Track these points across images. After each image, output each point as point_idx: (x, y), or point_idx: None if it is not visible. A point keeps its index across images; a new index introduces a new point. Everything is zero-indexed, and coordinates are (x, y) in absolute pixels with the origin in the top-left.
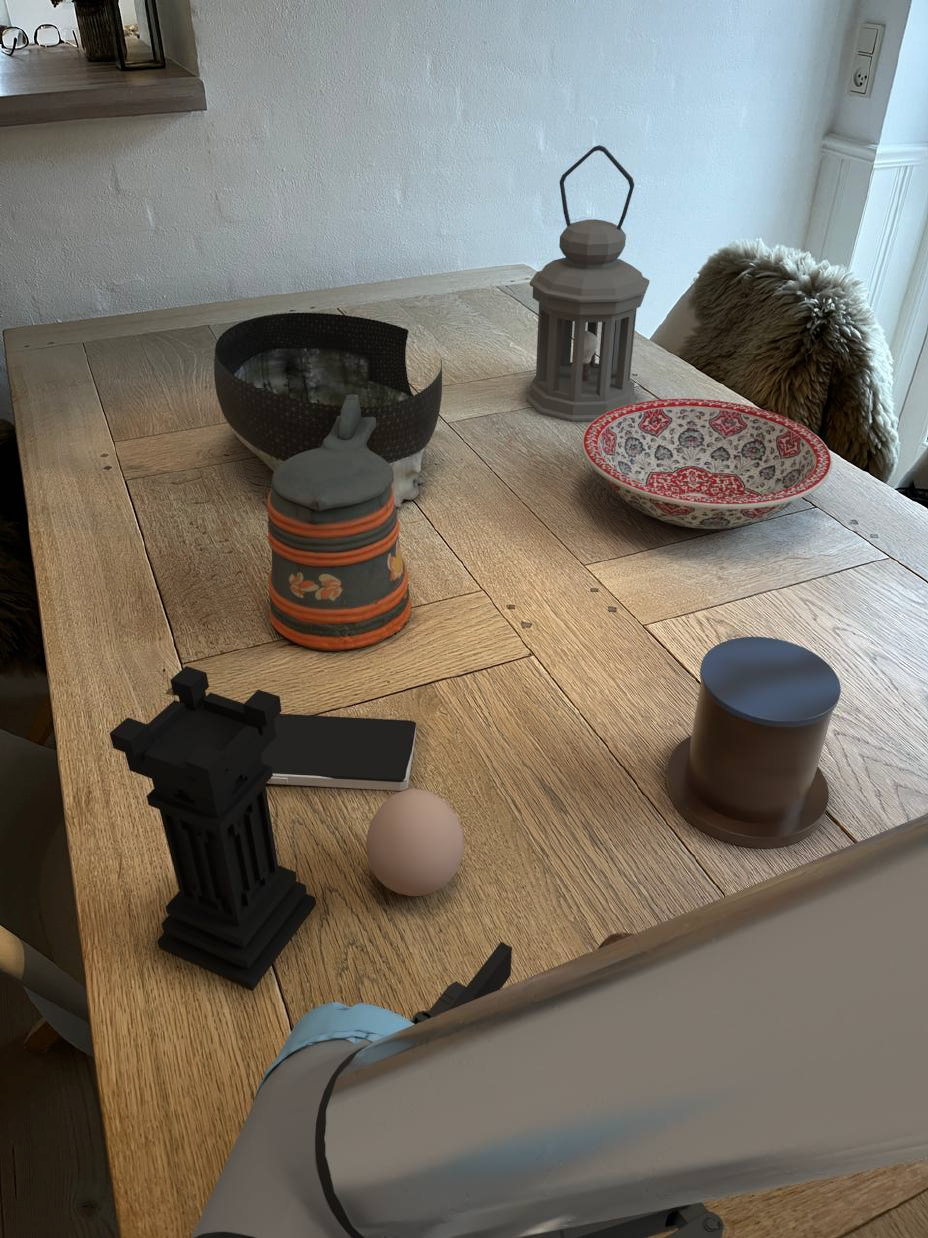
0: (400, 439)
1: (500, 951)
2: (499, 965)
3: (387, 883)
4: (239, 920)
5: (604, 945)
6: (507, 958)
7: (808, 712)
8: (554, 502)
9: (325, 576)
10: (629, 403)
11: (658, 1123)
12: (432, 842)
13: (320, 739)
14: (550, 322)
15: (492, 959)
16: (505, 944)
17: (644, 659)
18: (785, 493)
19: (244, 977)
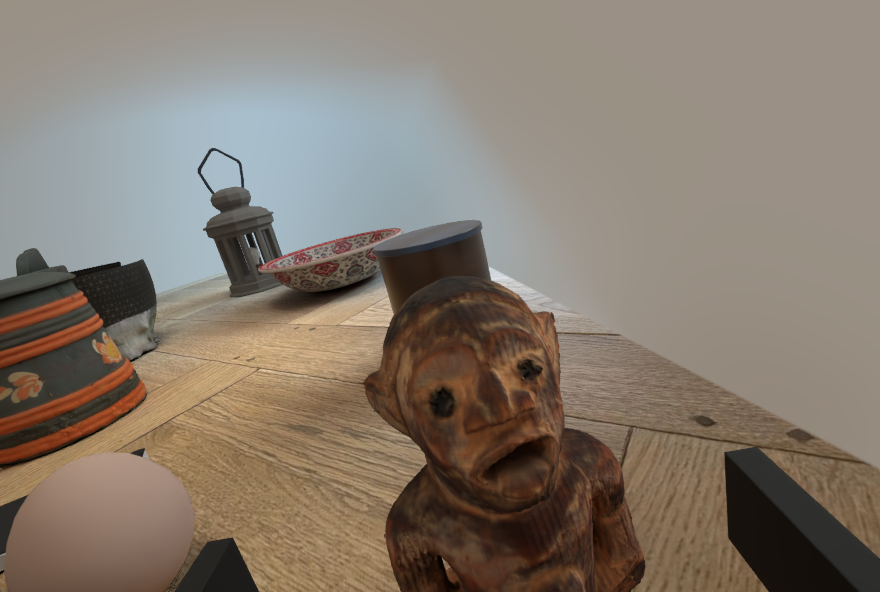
0: (117, 302)
1: (205, 559)
2: (205, 590)
3: None
4: None
5: (392, 324)
6: (230, 567)
7: (467, 228)
8: (257, 314)
9: (15, 375)
10: None
11: None
12: (111, 505)
13: (9, 519)
14: (223, 243)
15: (185, 588)
16: (216, 540)
17: (345, 335)
18: (384, 238)
19: None
